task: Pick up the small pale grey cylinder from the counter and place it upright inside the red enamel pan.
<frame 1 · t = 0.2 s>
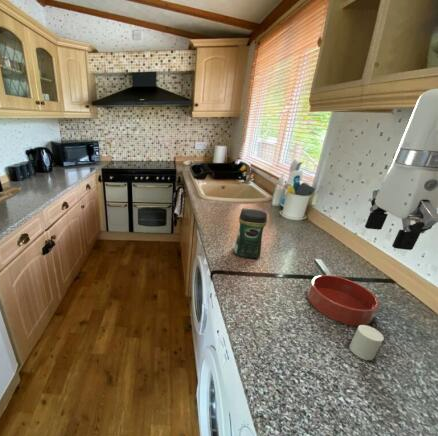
hand: (385, 237, 54), 26 cm above the worktop, tool pointing down, fingers open, 9 cm apart
pan: (338, 305, 70), on the worktop
pale grey cylinder: (361, 351, 56), on the worktop
pan handle: (323, 268, 80), point 3 cm above the worktop
coffee jar: (246, 253, 96), on the worktop
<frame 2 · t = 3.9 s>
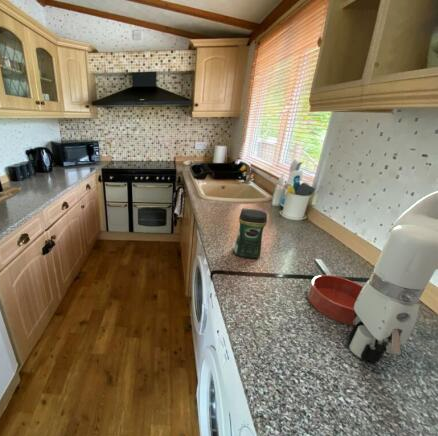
hand: (362, 348, 56), 1 cm above the worktop, tool pointing down, fingers closed on pale grey cylinder, 4 cm apart
pale grey cylinder: (361, 351, 56), on the worktop, touching gripper
everything else where it was.
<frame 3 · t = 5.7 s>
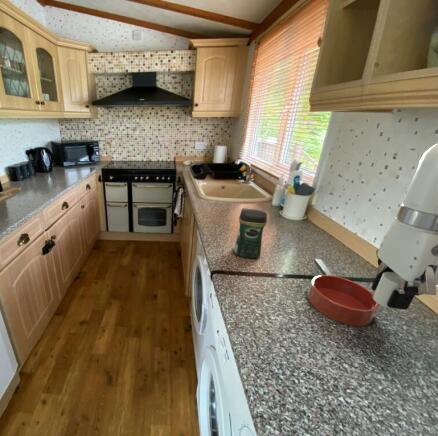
hand: (388, 298, 51), 15 cm above the worktop, tool pointing down, fingers closed on pale grey cylinder, 4 cm apart
pale grey cylinder: (386, 301, 51), point 14 cm above the worktop, touching gripper
everything else where it was.
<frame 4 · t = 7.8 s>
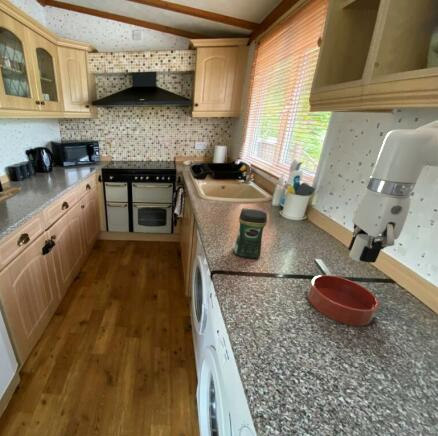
hand: (361, 255, 62), 18 cm above the worktop, tool pointing down, fingers closed on pale grey cylinder, 4 cm apart
pale grey cylinder: (359, 258, 63), point 17 cm above the worktop, touching gripper
everything else where it was.
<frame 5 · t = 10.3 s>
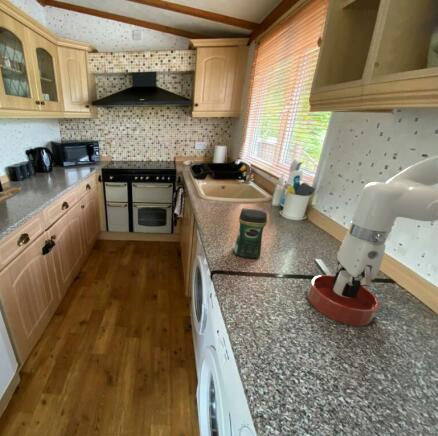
hand: (343, 289, 68), 5 cm above the worktop, tool pointing down, fingers closed on pale grey cylinder, 4 cm apart
pale grey cylinder: (342, 292, 68), point 5 cm above the worktop, touching gripper
everything else where it was.
when the fingers open (1 cm above the worktop, at t = 11.9 s): pale grey cylinder stays where it is, resting on pan.
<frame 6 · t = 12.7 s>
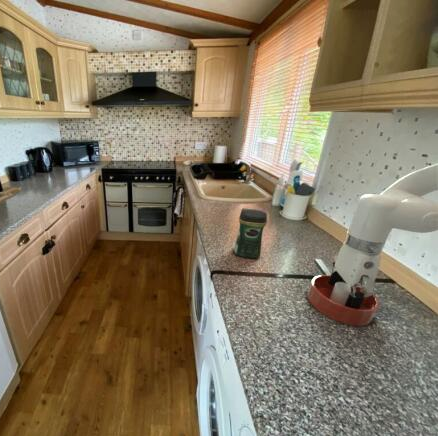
hand: (342, 295, 69), 3 cm above the worktop, tool pointing down, fingers open, 9 cm apart
pale grey cylinder: (338, 303, 70), resting on pan
everything else where it was.
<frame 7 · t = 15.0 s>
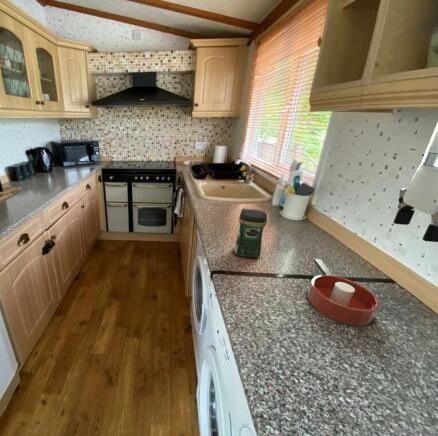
hand: (414, 231, 60), 24 cm above the worktop, tool pointing down, fingers open, 9 cm apart
nothing on the worktop moved.
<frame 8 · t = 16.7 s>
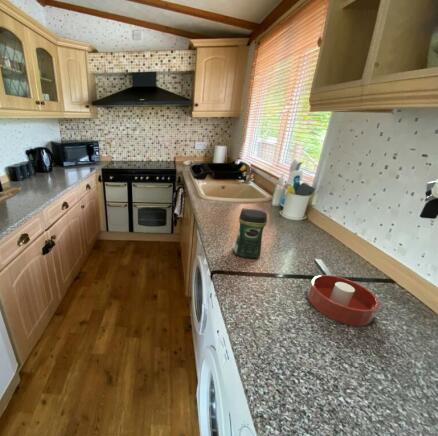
nothing on the worktop moved.
at the end: pale grey cylinder inside the target area in the pan (0.1 cm from its centre), point 0.5 cm above the pan's base; pale grey cylinder tilted 0°; the gripper is holding nothing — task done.
